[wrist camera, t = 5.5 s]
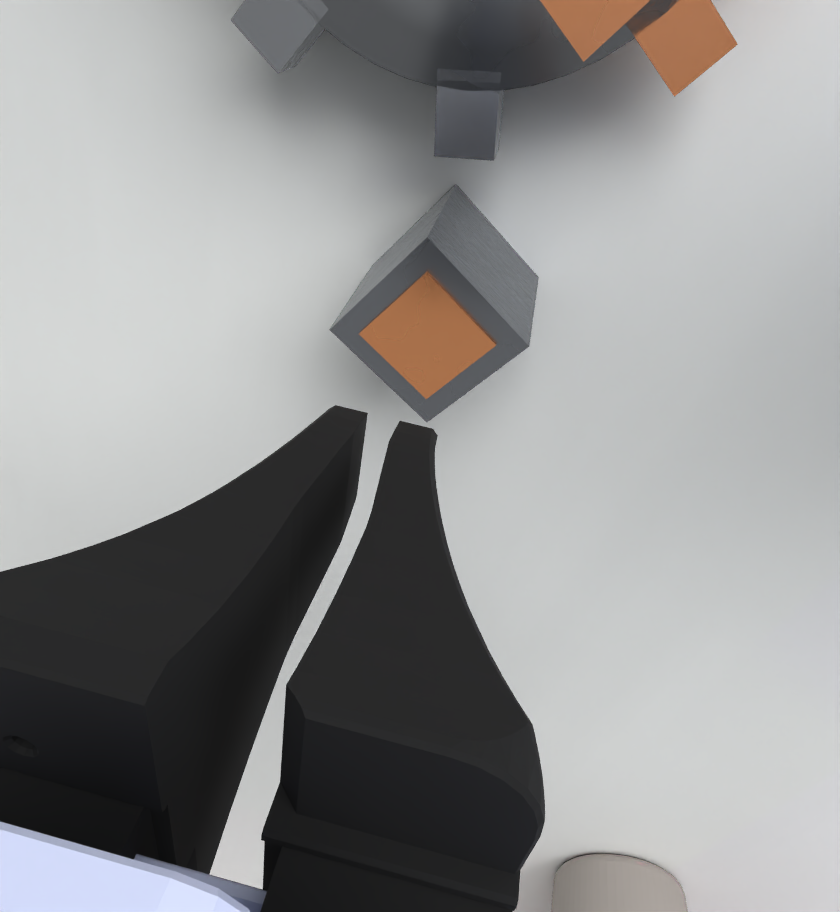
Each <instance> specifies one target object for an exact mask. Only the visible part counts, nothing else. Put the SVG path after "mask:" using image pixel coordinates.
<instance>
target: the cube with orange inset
mask: <svg viewBox="0 0 840 912" xmlns="http://www.w3.org/2000/svg"><path fill="white" fill-rule="evenodd" d="M537 285H538V276H537V275H536V274H535V273H534V272H533V270H532V269H531V268H530V267H529V266H528V265H527V264H526V262H525V261H524V260H523V259H522V258H521V257H520V256H519V255H518V253H517V252H516V251H515V250H514V249H513V248H512V247H511V246H510V244H509V243H508V242H507V241H506V240H505V239H504V238H503V236H502V235H501V234H500V233H499V232H498V231H497V230H496V229H495V227H494V226H493V225H492V224H491V223H490V222H489V221H488V220H487V218H486V217H485V216H484V215H483V214H482V213H481V212H480V211H479V209H478V208H477V207H476V206H475V205H474V204H473V203H472V201H471V200H470V199H469V198H468V197H467V196H466V195H465V194H464V192H463V191H462V190H461V189H460V188H459V187H458V186H457V185H456V184H455V185H454V186H453V187H452V188H451V189H450V190H449V191H448V192H447V193H446V194H445V195H444V196H443V197H442V198H441V199H440V200H439V201H438V202H437V203H436V204H435V205H434V206H433V207H432V208H431V209H430V210H429V211H428V212H427V213H426V214H425V215H424V216H423V217H422V218H421V219H419V220H418V221H417V222H416V223H415V224H414V225H413V226H412V227H411V228H410V229H409V230H408V231H407V232H406V233H405V234H404V235H403V236H402V237H401V238H400V239H399V240H398V241H397V242H396V243H395V244H394V245H393V246H392V247H391V248H390V249H389V250H388V251H387V252H386V253H385V254H384V255H383V256H382V257H381V258H379V259H378V260H377V261H376V262H375V263H374V264H373V265H372V267H371V268H370V270H369V271H368V273H367V274H366V276H365V277H364V279H363V280H362V282H361V283H360V285H359V286H358V288H357V289H356V291H355V292H354V294H353V295H352V297H351V298H350V300H349V301H348V303H347V304H346V306H345V307H344V309H343V310H342V312H341V313H340V315H339V316H338V318H337V319H336V321H335V322H334V324H333V325H332V327H331V328H330V331H331V332H333V333H334V334H335V335H336V336H337V337H338V338H339V339H340V340H341V341H342V342H343V343H344V344H345V345H346V346H347V347H348V348H349V349H350V350H351V351H352V352H354V353H355V354H356V355H357V356H358V357H359V358H360V359H361V360H362V361H363V362H364V363H365V364H366V365H367V366H368V367H369V368H370V369H371V370H372V371H373V372H375V373H376V374H377V375H378V376H379V377H380V378H381V379H382V380H383V381H384V382H385V383H386V384H387V385H388V386H389V387H390V388H391V389H392V390H393V391H395V392H396V393H397V394H398V395H399V396H400V397H401V398H402V399H403V400H404V401H405V402H406V403H407V404H408V405H409V406H410V407H411V408H412V409H413V410H414V411H416V412H417V413H418V414H419V415H420V416H421V417H422V418H423V419H424V420H425V421H426V422H428V421H429V420H431V419H432V418H433V417H435V416H436V415H437V414H439V413H440V412H441V411H443V410H444V409H446V408H447V407H448V406H450V405H451V404H452V403H454V402H455V401H456V400H458V399H459V398H460V397H462V396H463V395H464V394H466V393H467V392H468V391H470V390H471V389H472V388H474V387H475V386H476V385H478V384H479V383H481V382H482V381H483V380H485V379H486V378H487V377H489V376H490V375H491V374H493V373H494V372H495V371H497V370H498V369H499V368H501V367H502V366H503V365H505V364H506V363H507V362H509V361H510V360H511V359H513V358H514V357H515V356H517V355H518V354H520V353H521V352H522V351H524V350H525V349H526V348H528V347H529V344H530V337H531V329H532V322H533V314H534V307H535V300H536V292H537Z"/></svg>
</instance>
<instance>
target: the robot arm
mask: <svg viewBox="0 0 840 912" xmlns="http://www.w3.org/2000/svg"><path fill="white" fill-rule="evenodd" d="M367 414H368V413H365V412H361V411H357V410H353V409H349V408H344V407H340V406H336V405H335V406H333V407H332V408H330V409H328V410H327V411H326V412H325V413H324V414H322V415H321V416H320V417H319V418H318V419H316V420H315V421H314V422H313V423H312V424H310V425H309V426H308V427H307V428H305V429H304V430H303V431H302V432H300V433H299V434H298V435H297V436H295V437H294V438H293V439H292V440H290V441H289V442H288V443H286V444H285V445H283V446H282V447H281V448H279V449H278V450H277V451H275V452H274V453H273V454H271V455H270V456H268V457H267V458H266V459H264V460H263V461H262V462H260V463H259V464H257V465H256V466H254V467H253V468H251V469H249V470H248V471H246V472H245V473H243V474H242V475H240V476H239V477H237V478H236V479H234V480H232V481H231V482H229V483H228V484H226V485H225V486H223V487H221V488H219V489H218V490H216V491H214V492H213V493H211V494H209V495H207V496H205V497H204V498H202V499H200V500H198V501H196V502H194V503H192V504H191V505H189V506H187V507H185V508H183V509H181V510H179V511H177V512H175V513H173V514H170V515H168V516H166V517H163V518H161V519H159V520H156V521H154V522H152V523H149V524H147V525H145V526H142V527H140V528H138V529H135V530H133V531H131V532H128V533H126V534H123V535H121V536H118V537H115V538H112V539H110V540H107V541H104V542H101V543H99V544H96V545H93V546H90V547H87V548H84V549H80V550H77V551H74V552H71V553H68V554H65V555H62V556H58V557H55V558H51V559H48V560H44V561H40V562H37V563H33V564H29V565H25V566H21V567H17V568H14V569H10V570H6V571H2V572H0V912H512V910H513V911H514V910H515V908H516V907H517V902H518V895H519V880H520V869H521V868H522V866H523V864H524V863H525V861H526V859H527V858H528V856H529V854H530V853H531V851H532V849H533V848H534V846H535V844H536V843H537V841H538V839H539V838H540V836H541V832H542V829H543V825H544V822H545V800H544V787H543V778H542V770H541V764H540V758H539V753H538V748H537V743H536V738H535V733H534V729H533V725H532V723H531V721H530V720H529V718H528V717H527V715H526V714H525V712H524V711H523V709H522V708H521V706H520V704H519V703H518V701H517V700H516V698H515V696H514V695H513V693H512V691H511V690H510V688H509V686H508V685H507V683H506V681H505V680H504V678H503V676H502V674H501V672H500V671H499V669H498V667H497V665H496V663H495V661H494V660H493V658H492V656H491V654H490V652H489V650H488V648H487V646H486V644H485V642H484V640H483V637H482V635H481V633H480V631H479V629H478V627H477V624H476V622H475V620H474V618H473V616H472V614H471V612H470V609H469V607H468V604H467V602H466V599H465V597H464V594H463V591H462V589H461V586H460V583H459V580H458V577H457V575H456V572H455V569H454V566H453V562H452V559H451V556H450V552H449V548H448V545H447V541H446V537H445V532H444V528H443V524H442V519H441V514H440V508H439V502H438V495H437V488H436V479H435V445H436V440H437V434H436V433H435V431H434V430H433V429H431V428H427V427H423V426H419V425H415V424H411V423H406V422H402V421H400V422H399V424H398V425H397V427H396V429H395V431H394V433H393V435H392V437H391V439H390V441H389V444H388V448H387V452H386V456H385V460H384V464H383V468H382V472H381V476H380V480H379V484H378V488H377V492H376V496H375V500H374V504H373V508H372V511H371V514H370V518H369V521H368V524H367V527H366V529H365V531H364V534H363V536H362V538H361V540H360V543H359V545H358V547H357V549H356V552H355V554H354V556H353V559H352V561H351V563H350V565H349V567H348V569H347V571H346V574H345V576H344V578H343V580H342V582H341V584H340V586H339V588H338V591H337V593H336V595H335V597H334V599H333V601H332V603H331V605H330V607H329V609H328V611H327V612H326V614H325V616H324V618H323V620H322V622H321V624H320V626H319V628H318V630H317V632H316V634H315V636H314V637H313V639H312V641H311V643H310V645H309V646H308V648H307V650H306V652H305V654H304V655H303V657H302V659H301V661H300V663H299V664H298V666H297V668H296V670H295V671H294V673H293V675H292V676H291V678H290V680H289V681H288V683H287V685H286V698H285V714H284V730H283V746H282V762H281V778H280V784H279V787H278V789H277V792H276V795H275V798H274V800H273V803H272V806H271V809H270V811H269V814H268V817H267V820H266V822H265V825H264V828H263V832H262V837H261V840H263V841H265V849H264V875H263V890H262V889H258V888H255V887H251V886H248V885H244V884H241V883H237V882H234V881H230V880H227V879H223V878H219V877H216V876H212V875H209V873H210V870H211V867H212V864H213V861H214V858H215V855H216V852H217V849H218V846H219V843H220V840H221V837H222V834H223V831H224V828H225V825H226V822H227V819H228V816H229V813H230V810H231V807H232V804H233V801H234V798H235V796H236V793H237V790H238V787H239V784H240V781H241V778H242V775H243V772H244V769H245V767H246V764H247V761H248V758H249V755H250V752H251V749H252V747H253V744H254V741H255V738H256V736H257V733H258V730H259V727H260V724H261V722H262V719H263V716H264V713H265V710H266V708H267V705H268V702H269V700H270V697H271V694H272V691H273V689H274V686H275V683H276V681H277V678H278V675H279V673H280V670H281V667H282V665H283V662H284V659H285V657H286V655H287V652H288V650H289V648H290V645H291V643H292V641H293V639H294V636H295V634H296V632H297V630H298V628H299V626H300V624H301V622H302V620H303V618H304V616H305V614H306V612H307V610H308V608H309V606H310V604H311V602H312V600H313V598H314V596H315V594H316V592H317V590H318V588H319V586H320V584H321V582H322V580H323V578H324V576H325V574H326V572H327V570H328V568H329V565H330V563H331V561H332V559H333V557H334V555H335V553H336V551H337V549H338V547H339V545H340V543H341V540H342V537H343V535H344V532H345V529H346V526H347V523H348V520H349V517H350V514H351V512H352V509H353V506H354V503H355V500H356V497H357V489H358V482H359V474H360V467H361V459H362V451H363V444H364V436H365V429H366V421H367Z"/></svg>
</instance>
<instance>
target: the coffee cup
mask: <svg viewBox="0 0 840 912" xmlns="http://www.w3.org/2000/svg"><path fill="white" fill-rule="evenodd" d="M551 912H688V911H687V905H686V899H685V894H684V892H683V889H682V887H681V885H680V883H679V882H678V881H677V880H676V879H675V878H674V877H673V876H672V875H671V874H670V873H668V872H667V871H666V870H664V869H662V868H660V867H659V866H656V865H654V864H652V863H650V862H647V861H644V860H641V859H638V858H633V857H629V856H623V855H614V854H591V855H585V856H580V857H576V858H574V859H571V860H569V861H567V862H565V863H564V864H563V865H561V867H560V868H559V869H558V871H557V872H556V875H555V878H554V885H553V895H552V906H551Z"/></svg>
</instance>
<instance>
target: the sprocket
mask: <svg viewBox="0 0 840 912" xmlns="http://www.w3.org/2000/svg"><path fill="white" fill-rule="evenodd" d="M231 21H232V22H233V23H234V24H235V25H236V27H237V28H238V29H239V30H240V31H241V32H242V33H243V34H244V36H245V37H246V38H247V39H248V40H249V41H250V42H251V43H252V45H253V46H254V47H255V48H256V49H257V50H258V51H259V53H260V54H261V55H262V56H263V57H264V58H265V59H266V60H267V62H268V63H269V64H270V65H271V66H272V67H273V68H274V69H275V71H276V72H277V73H280V72H282V71H285V70H287V69H290V68H292V67H295V66H296V65H297V64H298V62H299V61H300V60H301V59H302V57H303V56H304V55H305V54H306V52H307V51H308V50H309V49H310V47H311V46H312V45H313V44H314V42H315V41H316V40H317V39H318V37H319V36H320V35H321V34H322V32H323V31H324V30H325V29H326V30H327V31H328V32H330V33H331V34H332V35H333V36H334V37H336V38H337V39H338V40H339V41H341V42H342V43H343V44H344V45H345V46H347V47H348V48H350V49H351V50H353V51H355V52H356V53H358V54H359V55H361V56H363V57H364V58H366V59H367V60H369V61H371V62H372V63H374V64H375V65H378V66H380V67H382V68H384V69H387V70H389V71H391V72H393V73H395V74H398V75H400V76H402V77H404V78H407V79H411V80H414V81H418V82H421V83H425V84H428V85H432V86H435V87H437V93H436V122H435V151H434V156H439V157H453V158H466V159H480V160H494V159H495V157H496V154H497V152H498V150H499V142H500V131H501V119H502V108H503V96H504V90H507V89H513V88H520V87H526V86H532V85H536V84H539V83H543V82H546V81H549V80H552V79H556V78H559V77H562V76H565V75H568V74H570V73H572V72H575V71H577V70H579V69H581V68H583V67H585V66H588V65H590V64H592V63H594V62H596V61H598V60H600V59H602V58H604V57H605V56H607V55H609V54H610V53H612V52H613V51H615V50H617V49H618V48H620V47H621V46H623V45H625V44H626V43H628V42H629V41H631V40H633V39H634V38H636V40H637V41H638V43H639V44H640V46H641V47H642V49H643V50H644V52H645V53H646V55H647V56H648V58H649V59H650V61H651V62H652V64H653V65H654V67H655V68H656V70H657V71H658V73H659V74H660V76H661V77H662V79H663V80H664V82H665V83H666V85H667V86H668V88H669V89H670V91H671V92H672V94H673V95H674V96H676V95H677V94H678V93H679V92H680V91H682V90H683V89H684V88H685V87H687V86H688V85H689V84H690V83H691V82H693V81H694V80H695V79H696V78H697V77H699V76H700V75H701V74H702V73H704V72H705V71H706V70H707V69H708V68H710V67H711V66H712V65H713V64H714V63H716V62H717V61H718V60H719V59H721V58H722V57H723V56H724V55H725V54H727V53H728V52H729V51H730V50H731V49H733V48H734V47H735V46H736V45H737V42H736V41H735V39H734V38H733V36H732V34H731V33H730V31H729V29H728V28H727V26H726V25H725V23H724V21H723V20H722V18H721V16H720V15H719V13H718V12H717V10H716V8H715V7H714V5H713V3H712V2H711V0H245V1H244V2H243V4H242V5H241V6H240V8H239V9H238V11H237V12H236V14H235V15H234V16H233V18H232V19H231Z"/></svg>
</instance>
